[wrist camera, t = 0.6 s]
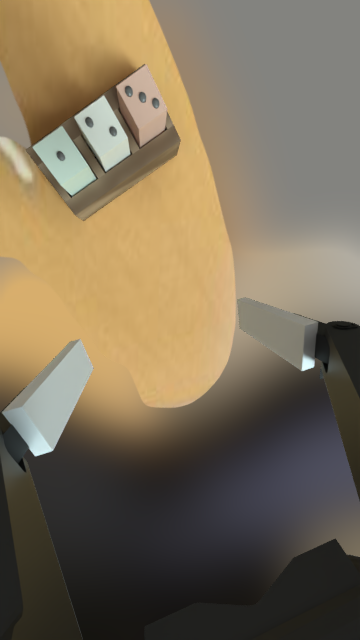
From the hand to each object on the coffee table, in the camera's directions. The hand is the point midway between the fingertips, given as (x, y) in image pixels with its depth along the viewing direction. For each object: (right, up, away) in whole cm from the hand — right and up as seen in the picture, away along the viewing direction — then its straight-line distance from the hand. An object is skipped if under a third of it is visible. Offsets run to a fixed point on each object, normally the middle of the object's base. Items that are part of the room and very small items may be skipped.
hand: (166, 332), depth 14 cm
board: (-11, +30, +17) cm, 36 cm away
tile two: (-11, +30, +14) cm, 35 cm away
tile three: (-5, +34, +14) cm, 37 cm away
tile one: (-17, +26, +14) cm, 34 cm away
